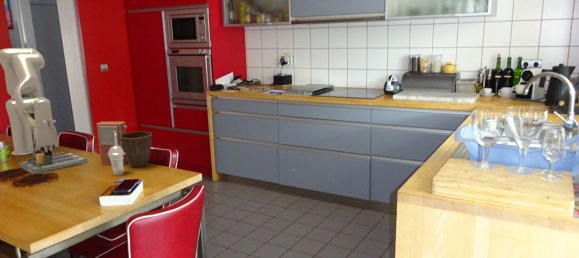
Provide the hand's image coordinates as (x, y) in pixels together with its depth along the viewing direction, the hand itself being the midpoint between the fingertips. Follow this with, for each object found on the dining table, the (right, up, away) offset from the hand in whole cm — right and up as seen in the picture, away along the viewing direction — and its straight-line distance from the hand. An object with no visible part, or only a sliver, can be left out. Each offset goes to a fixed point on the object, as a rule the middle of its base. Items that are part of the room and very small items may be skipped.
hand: (48, 158), depth 224 cm
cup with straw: (+42, -6, -15) cm, 45 cm away
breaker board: (+1, -3, +2) cm, 4 cm away
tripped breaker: (-3, -2, -3) cm, 4 cm away
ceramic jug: (-37, +6, +51) cm, 63 cm away
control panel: (+33, -3, +3) cm, 33 cm away
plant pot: (+47, -3, -2) cm, 47 cm away
